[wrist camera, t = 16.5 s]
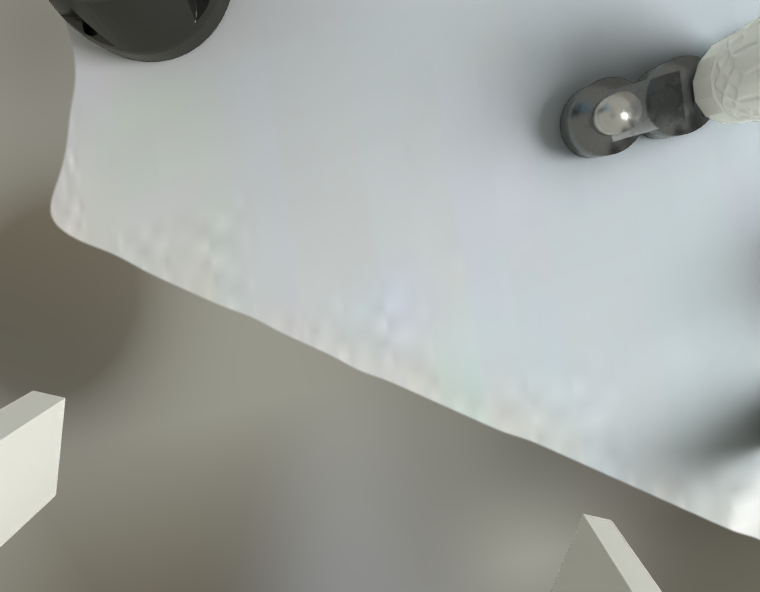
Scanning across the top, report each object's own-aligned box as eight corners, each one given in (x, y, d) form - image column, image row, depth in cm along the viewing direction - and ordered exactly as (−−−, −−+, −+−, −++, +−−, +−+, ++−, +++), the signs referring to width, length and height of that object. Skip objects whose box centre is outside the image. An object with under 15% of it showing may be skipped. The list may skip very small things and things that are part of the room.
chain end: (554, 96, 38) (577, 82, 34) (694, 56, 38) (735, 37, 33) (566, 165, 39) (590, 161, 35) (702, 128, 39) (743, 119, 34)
